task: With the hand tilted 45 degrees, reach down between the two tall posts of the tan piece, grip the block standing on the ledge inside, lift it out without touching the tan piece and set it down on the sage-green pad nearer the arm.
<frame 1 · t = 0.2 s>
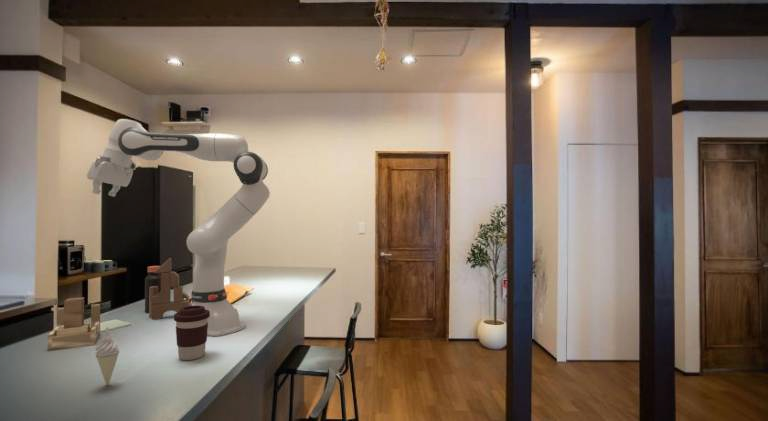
hand: (103, 194, 144), 51 cm above the counter, tool tilted 15°, fingers open, 8 cm apart
bottle: (153, 311, 171), on the counter
pad: (106, 326, 148), on the counter
block: (74, 326, 129), point 6 cm above the counter, touching tan piece
coffee cup: (191, 357, 118), on the counter
tan piece: (75, 342, 131), on the counter
wooden toy: (169, 316, 163), on the counter
ice cream cone: (107, 386, 98), on the counter
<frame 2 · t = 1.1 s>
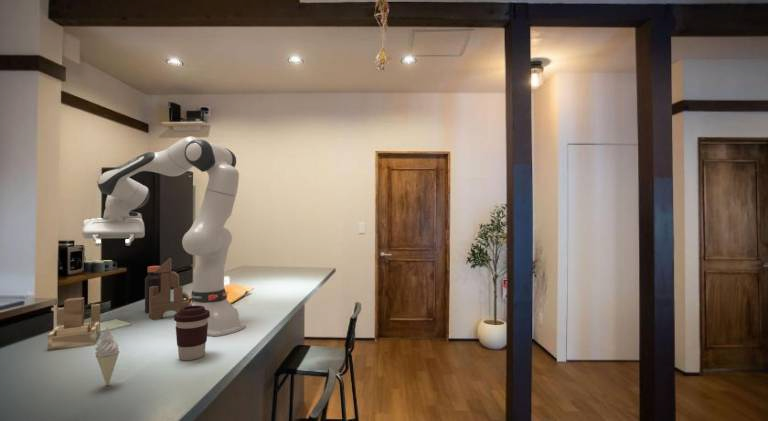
hand: (113, 244, 147), 32 cm above the counter, tool tilted 45°, fingers open, 8 cm apart
nothing on the counter moved.
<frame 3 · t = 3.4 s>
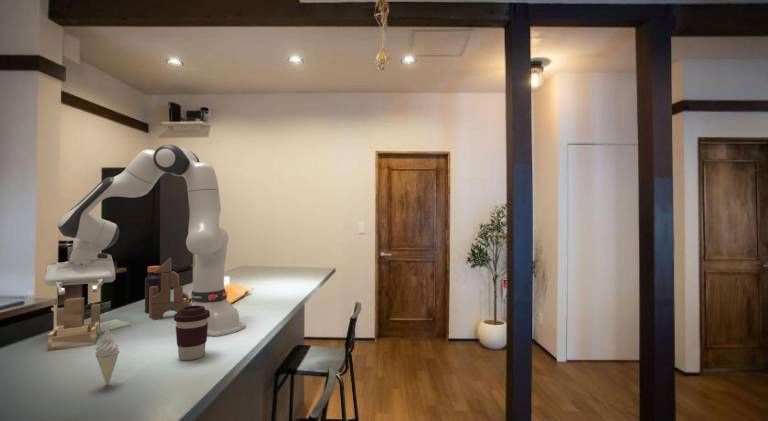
hand: (78, 292, 135), 16 cm above the counter, tool tilted 45°, fingers open, 8 cm apart
nothing on the counter moved.
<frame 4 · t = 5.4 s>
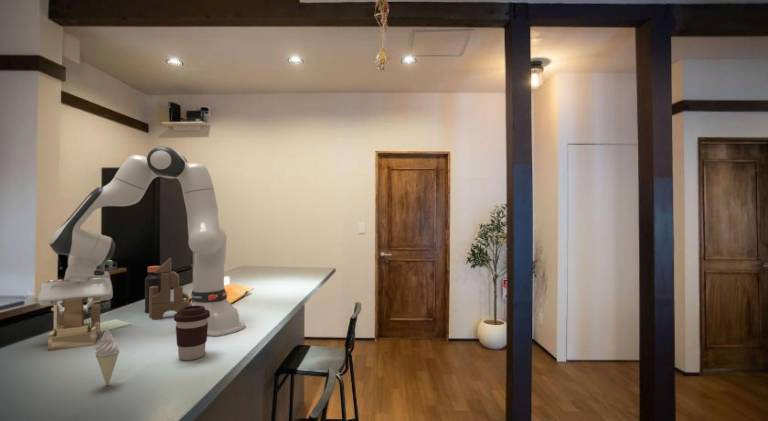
hand: (73, 312, 129), 11 cm above the counter, tool tilted 45°, fingers closed on block, 4 cm apart
block: (74, 326, 129), point 6 cm above the counter, touching tan piece, gripper
everything else where it was.
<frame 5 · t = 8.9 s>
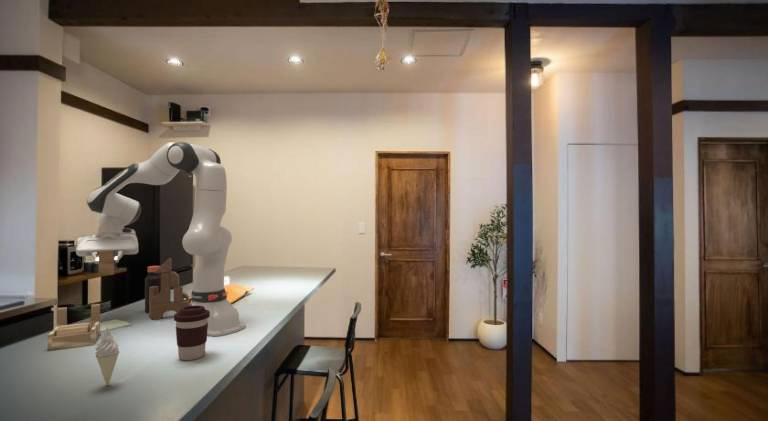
hand: (106, 262, 148), 25 cm above the counter, tool tilted 45°, fingers closed on block, 4 cm apart
block: (106, 274, 149), point 20 cm above the counter, touching gripper
everything else where it was.
when the fingers open (7 cm above the counter, at t = 12.6 s): block drops 1 cm, resting on pad.
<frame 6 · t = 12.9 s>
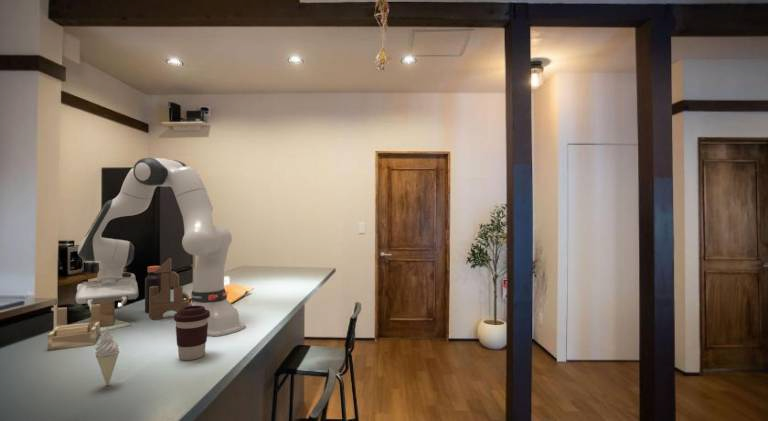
hand: (106, 309, 148), 7 cm above the counter, tool tilted 45°, fingers open, 7 cm apart
block: (106, 325, 148), resting on pad
everything else where it was.
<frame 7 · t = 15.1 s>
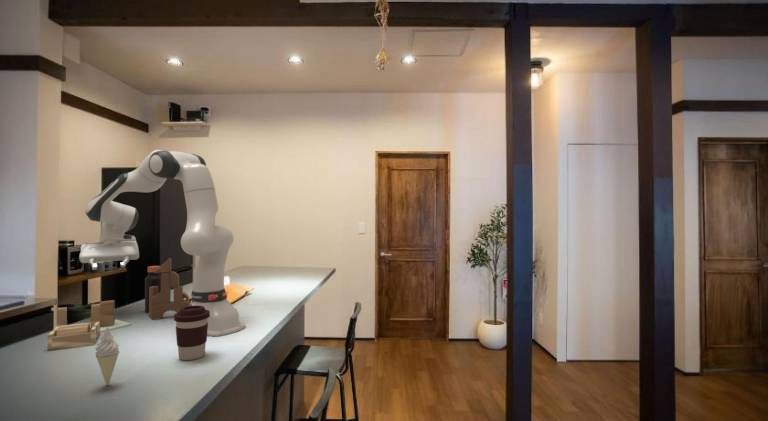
hand: (108, 267, 155), 22 cm above the counter, tool tilted 45°, fingers open, 8 cm apart
nothing on the counter moved.
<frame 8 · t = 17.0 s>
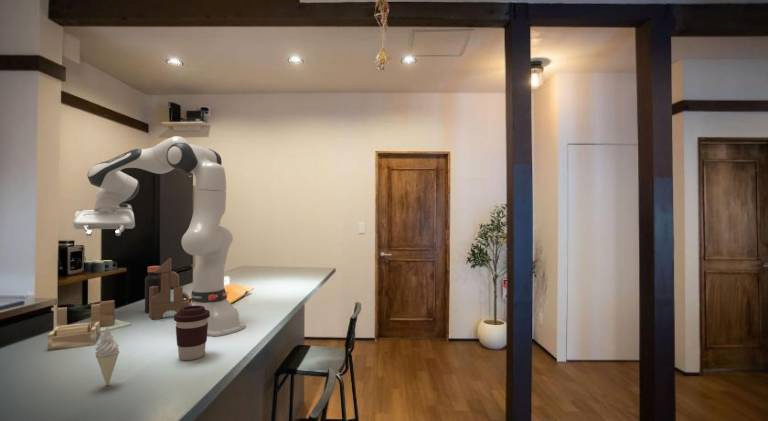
hand: (103, 235, 151), 35 cm above the counter, tool tilted 45°, fingers open, 8 cm apart
nothing on the counter moved.
at the end: block inside the target area on the pad (0.1 cm from its centre), point 0.5 cm above the pad's base; block tilted 0°; block touching pad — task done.
